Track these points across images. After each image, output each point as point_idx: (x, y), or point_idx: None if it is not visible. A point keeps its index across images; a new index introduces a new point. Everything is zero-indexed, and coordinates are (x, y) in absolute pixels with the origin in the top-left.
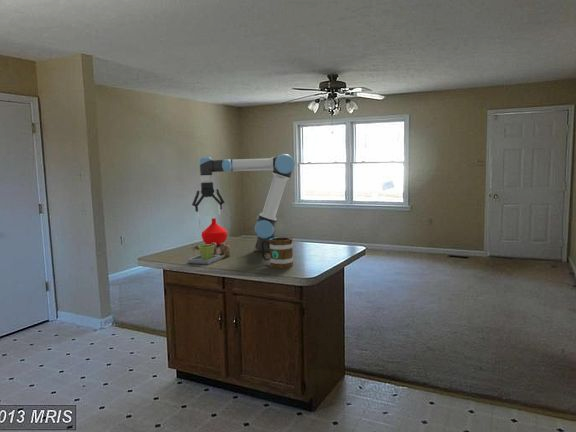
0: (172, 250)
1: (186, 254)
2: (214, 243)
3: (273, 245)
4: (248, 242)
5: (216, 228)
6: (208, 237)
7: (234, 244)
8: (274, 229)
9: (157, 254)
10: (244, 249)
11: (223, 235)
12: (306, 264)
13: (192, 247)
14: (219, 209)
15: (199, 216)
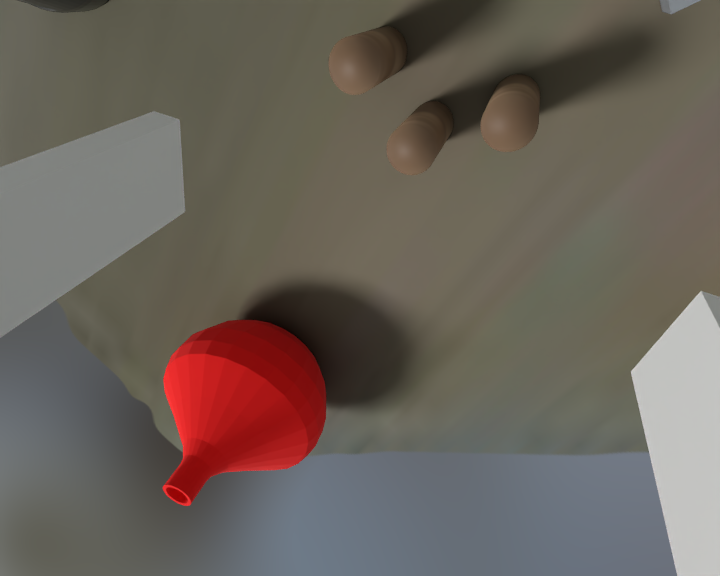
0: (539, 439)
1: (587, 280)
2: (416, 126)
3: None
4: None
5: (217, 406)
6: (306, 381)
7: (186, 280)
8: None
9: None
10: (184, 82)
11: (211, 335)
12: None
13: (404, 405)
14: (60, 164)
15: (714, 302)
